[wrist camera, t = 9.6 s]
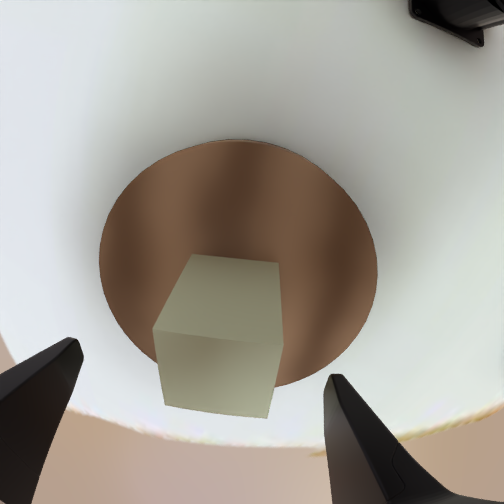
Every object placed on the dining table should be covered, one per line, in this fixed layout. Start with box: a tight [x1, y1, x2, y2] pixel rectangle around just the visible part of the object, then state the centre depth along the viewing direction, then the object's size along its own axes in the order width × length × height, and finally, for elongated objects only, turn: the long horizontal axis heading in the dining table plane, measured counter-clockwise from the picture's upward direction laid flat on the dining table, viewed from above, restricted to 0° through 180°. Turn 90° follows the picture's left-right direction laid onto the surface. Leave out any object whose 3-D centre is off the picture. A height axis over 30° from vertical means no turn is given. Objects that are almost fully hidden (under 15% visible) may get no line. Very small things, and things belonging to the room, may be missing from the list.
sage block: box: [152, 254, 284, 418], centre depth 15 cm, size 5×5×7 cm
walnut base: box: [99, 139, 378, 387], centre depth 20 cm, size 18×18×3 cm
